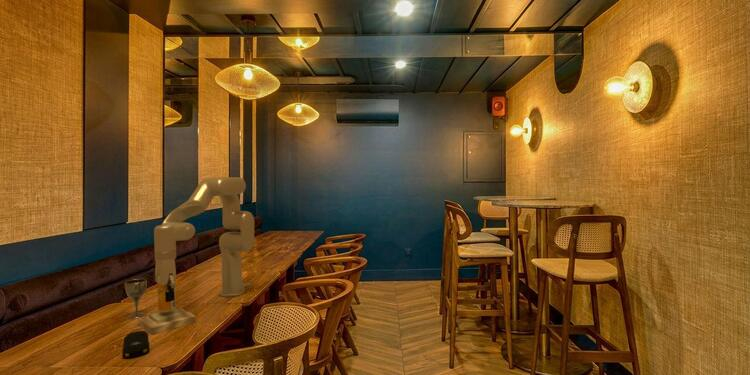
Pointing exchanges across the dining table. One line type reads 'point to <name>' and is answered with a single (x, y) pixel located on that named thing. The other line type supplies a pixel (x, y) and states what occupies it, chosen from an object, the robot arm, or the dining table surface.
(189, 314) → the riser
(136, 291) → the wine glass
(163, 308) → the glass of juice
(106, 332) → the dining table surface
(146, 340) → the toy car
